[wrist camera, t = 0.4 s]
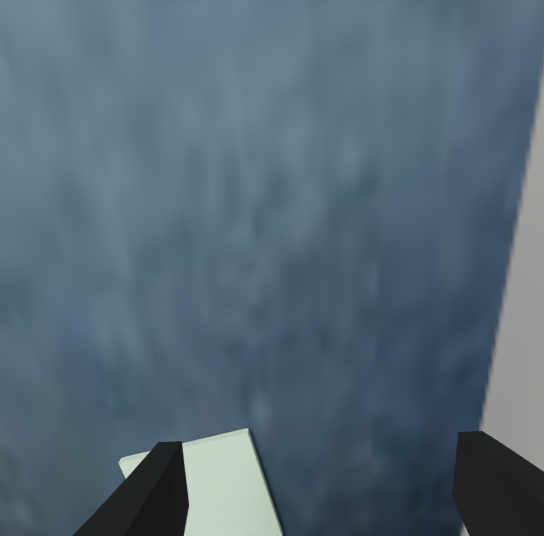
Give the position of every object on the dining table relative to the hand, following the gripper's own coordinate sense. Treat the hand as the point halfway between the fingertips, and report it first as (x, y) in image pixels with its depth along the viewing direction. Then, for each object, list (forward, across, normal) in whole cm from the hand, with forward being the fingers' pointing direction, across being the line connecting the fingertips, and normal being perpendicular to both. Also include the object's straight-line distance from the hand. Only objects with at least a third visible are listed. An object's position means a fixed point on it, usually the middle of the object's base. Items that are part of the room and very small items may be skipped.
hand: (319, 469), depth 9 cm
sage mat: (+10, +6, +11) cm, 16 cm away
